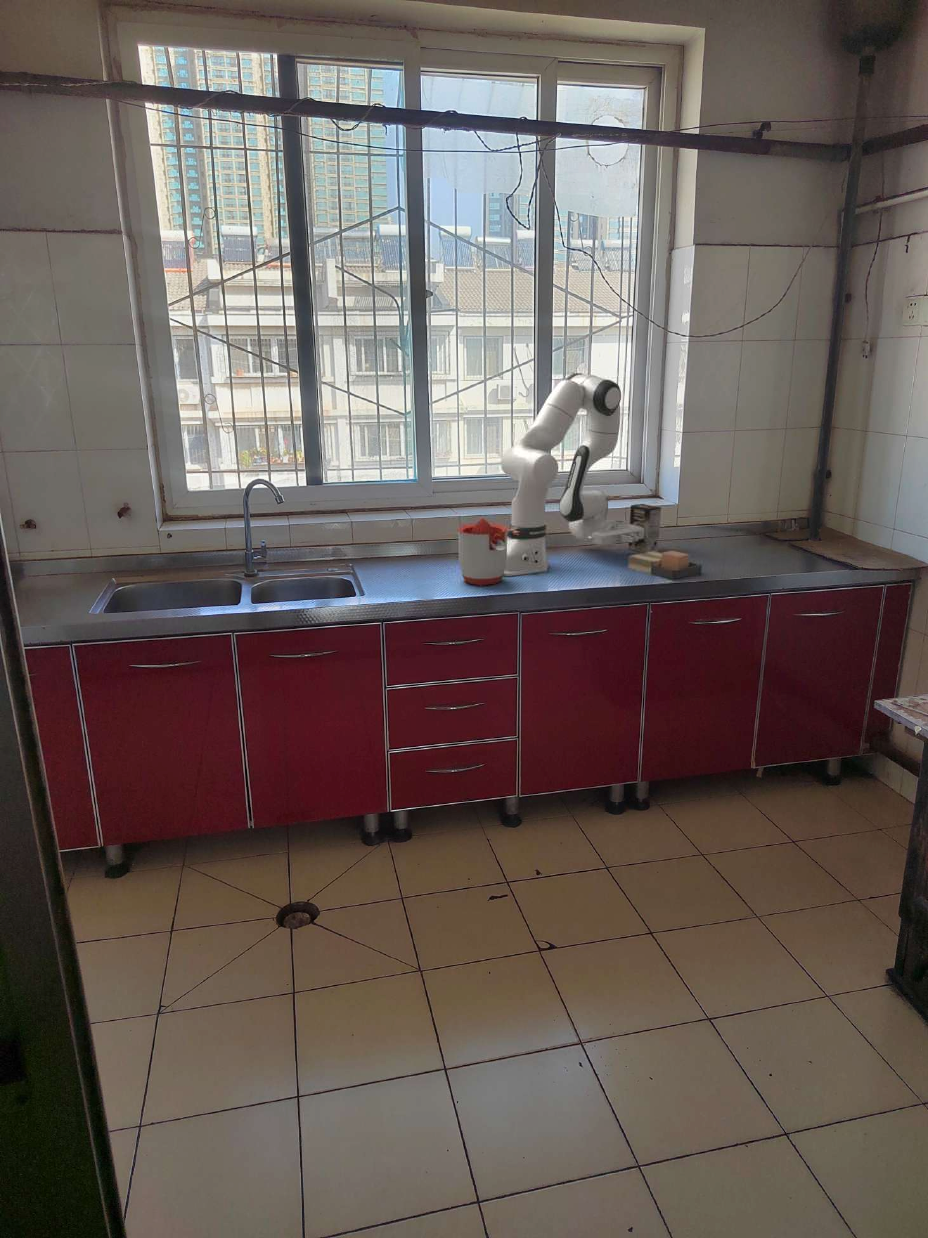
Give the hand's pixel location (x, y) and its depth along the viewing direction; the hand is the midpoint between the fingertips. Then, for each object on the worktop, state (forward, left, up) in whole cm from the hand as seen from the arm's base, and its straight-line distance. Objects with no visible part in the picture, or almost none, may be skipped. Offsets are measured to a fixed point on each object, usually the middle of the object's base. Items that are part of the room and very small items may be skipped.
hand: (635, 539), depth 271 cm
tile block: (0, -14, -5) cm, 15 cm away
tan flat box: (0, -8, -8) cm, 12 cm away
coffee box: (+17, +12, -8) cm, 23 cm away
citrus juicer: (-54, +12, -8) cm, 56 cm away
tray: (0, -18, -8) cm, 20 cm away
